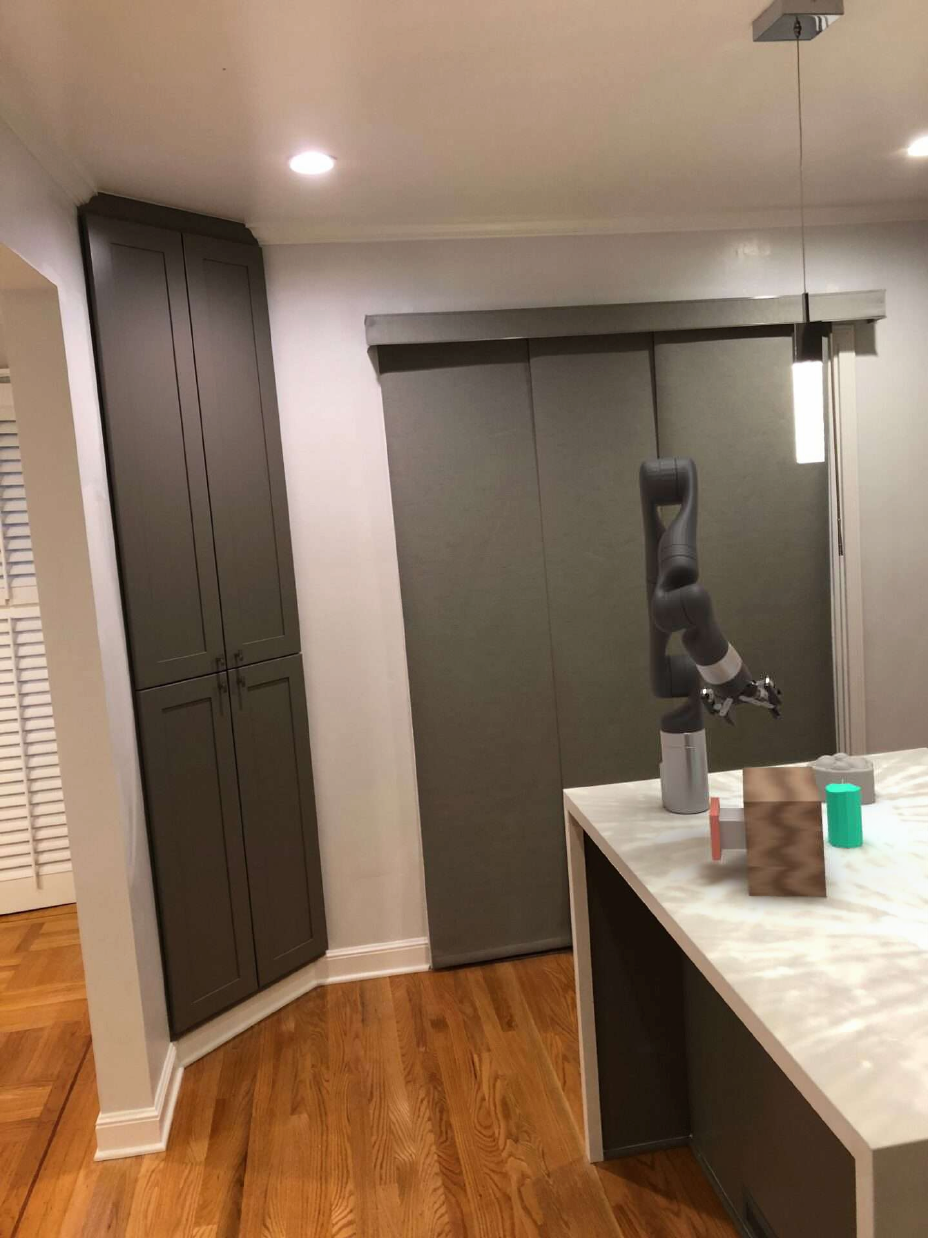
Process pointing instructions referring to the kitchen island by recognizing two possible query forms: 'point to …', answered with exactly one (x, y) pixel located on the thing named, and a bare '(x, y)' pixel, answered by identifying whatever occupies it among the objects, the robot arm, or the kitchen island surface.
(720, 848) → the coral square plate
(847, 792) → the candle
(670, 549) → the robot arm
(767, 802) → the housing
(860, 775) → the lumpy-topped squat cylinder
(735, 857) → the kitchen island surface
